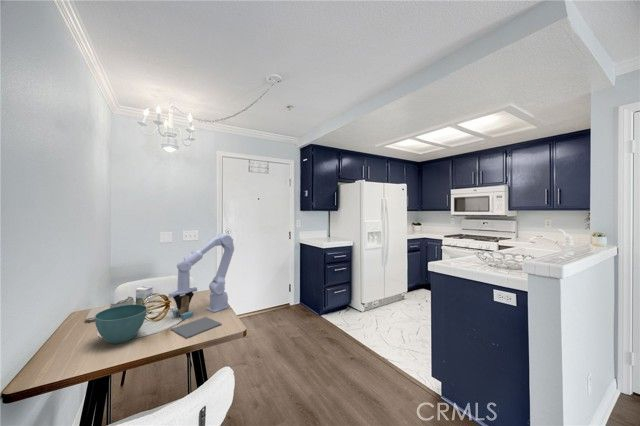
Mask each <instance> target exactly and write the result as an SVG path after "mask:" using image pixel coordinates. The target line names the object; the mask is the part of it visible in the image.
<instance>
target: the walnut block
mask: <svg viewBox="0 0 640 426" xmlns="http://www.w3.org/2000/svg"><path fill="white" fill-rule="evenodd" d="M180 297H182V299H181V309H178V311H177V313H178V314H180V315H179V316H181V314H182V313H185V312H189V311H190V304H189V296H187V295H185V294H183V295H180Z"/></svg>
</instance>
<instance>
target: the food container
mask: <svg viewBox="0 0 640 426" xmlns="http://www.w3.org/2000/svg"><path fill="white" fill-rule="evenodd" d="M132 304H135V299H134V297H132V296H127V298H126V299H123V300H120V301H118V302H116V303H110V305H109V306H110V308H112V307H117V306H123V305H132Z"/></svg>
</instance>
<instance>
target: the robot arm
mask: <svg viewBox="0 0 640 426" xmlns="http://www.w3.org/2000/svg"><path fill="white" fill-rule="evenodd" d="M218 246H219V247H220V246H221V248H222V249H223V253H222V257H221V259H220V263H219V266H218V269H217V271H216V274H215V276H214V277H213V278H212V281H211V282H210V284H209V285H208V289H209V290H210V293H209V307H206V310H208V311H210V312H214V313H215V312H219V311H221V310H225V309H228V308H229V305H228V304H229V302H228V301H229V300H228V299H229V296H228V293H227V292H226V291H225V290H226V288H225V287H226V279H225V278H226V275H227V272H228V270H229V267H230V264H231V261H232V258H233V254H234V251H235V246H234V239H233V238H232V236H231V235H230V234H225V233H222V232H221V233H219V234H217V235H216V236H214V237H213V238H212V239H211V240H209V242H207V243H206V244H205V245H203V246H202V247H201V248H199V250H196V249H195V250H192V251H191V252H190V253H189V254H188V256H186V257H184V258H183V259H181V260H179V261H178V262H177V265H176V268H177V290H176V291H173V292H169V293H168V298H170V299H171V298H172V299H173V301H174V302H175V304H176V307H177V308H176V309H181V299H182V297H180V296H182V295H187V296H189V305H190V303H191V301H192V299H193V297H194V292H198V287H190V284H191V283H190V280H191V279H190V277H191V276H190V270H191V269H192V267H193V266H194V265H196V264H197V263H198V262H199V261H201V260H202V259H203V257H204V256H203V255H205V254H206V253H208V252H209V251H210V250H212V249H213V248H215V247H218Z"/></svg>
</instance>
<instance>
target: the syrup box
mask: <svg viewBox="0 0 640 426" xmlns="http://www.w3.org/2000/svg"><path fill="white" fill-rule="evenodd" d="M153 291H154V289H153V286H149V285H142V286H139V287H137V288H135V304H137V305H141V302H142V301H143V299H145V298H146V297H147V296H149V295H152V294H153V293H154V292H153ZM149 300H152V301H153V295H152V297H150V298H147V300H146V301H149Z"/></svg>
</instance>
